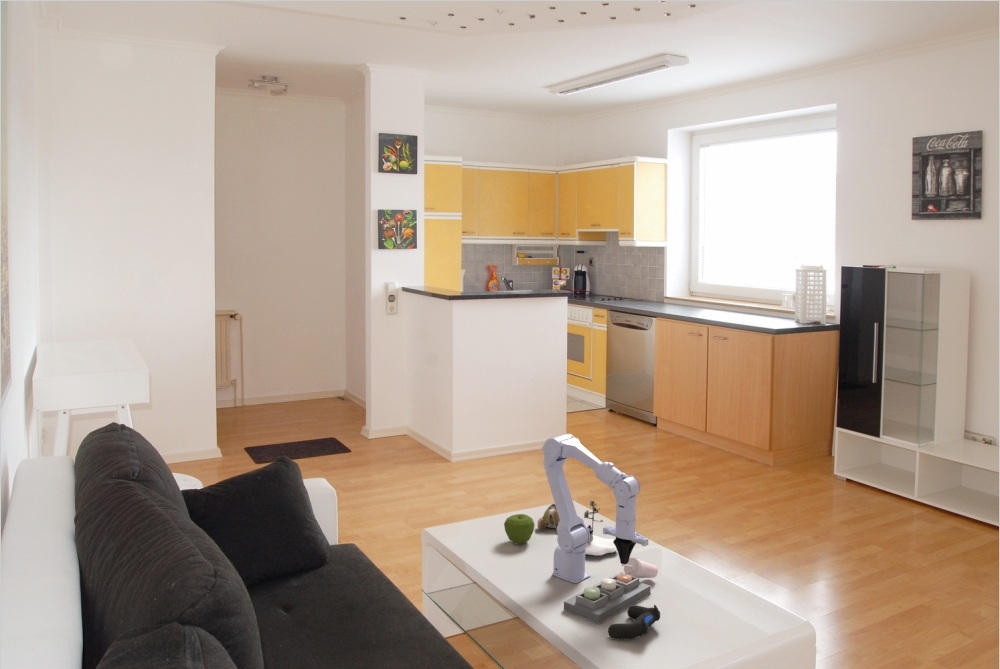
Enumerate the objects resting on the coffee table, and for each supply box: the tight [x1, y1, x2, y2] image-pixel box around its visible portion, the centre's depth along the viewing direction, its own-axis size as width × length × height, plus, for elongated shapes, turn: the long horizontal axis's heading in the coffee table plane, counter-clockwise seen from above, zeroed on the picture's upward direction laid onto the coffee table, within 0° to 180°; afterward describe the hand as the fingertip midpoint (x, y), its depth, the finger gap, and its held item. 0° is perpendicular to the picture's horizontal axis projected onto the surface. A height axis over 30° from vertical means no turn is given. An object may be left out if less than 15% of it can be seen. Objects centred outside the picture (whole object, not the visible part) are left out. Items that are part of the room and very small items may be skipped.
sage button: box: [583, 586, 600, 601], centre depth 217 cm, size 4×4×2 cm
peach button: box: [617, 573, 632, 584], centre depth 229 cm, size 4×4×2 cm
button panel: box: [563, 572, 652, 625], centre depth 223 cm, size 12×26×4 cm, turn 137°
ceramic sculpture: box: [537, 502, 560, 529], centre depth 285 cm, size 11×9×15 cm
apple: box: [503, 513, 535, 545], centre depth 269 cm, size 11×10×10 cm
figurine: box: [583, 500, 617, 556], centre depth 264 cm, size 20×18×16 cm
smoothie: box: [621, 557, 659, 579], centre depth 236 cm, size 6×6×14 cm
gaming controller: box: [607, 604, 661, 640], centre depth 206 cm, size 17×6×10 cm
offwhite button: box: [600, 578, 616, 592], centre depth 223 cm, size 4×4×2 cm
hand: (624, 563), depth 229 cm, fingers closed
